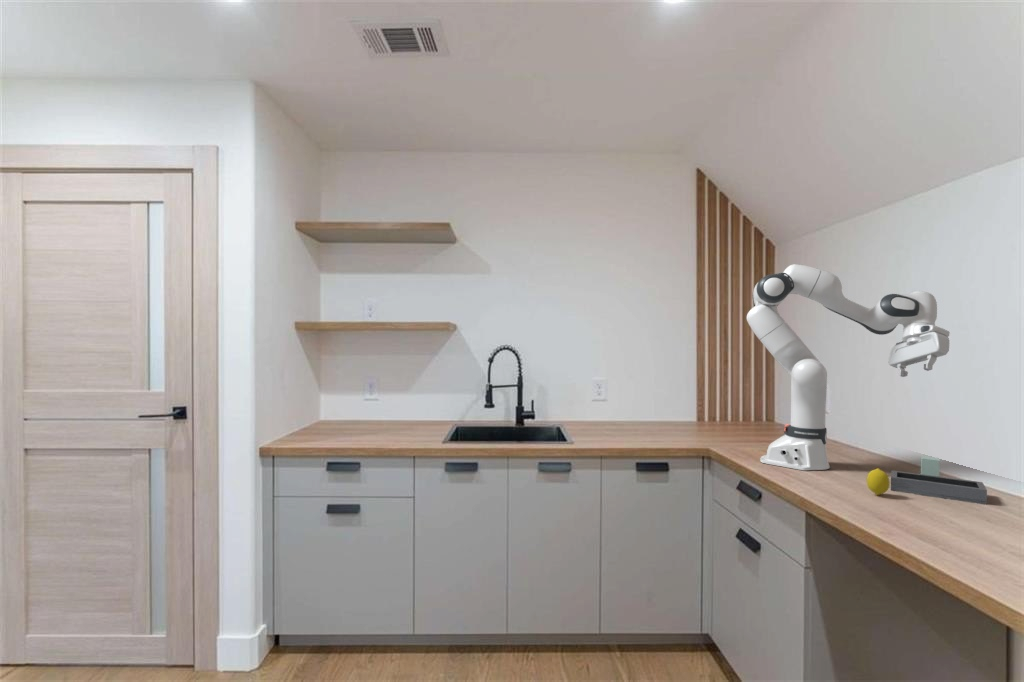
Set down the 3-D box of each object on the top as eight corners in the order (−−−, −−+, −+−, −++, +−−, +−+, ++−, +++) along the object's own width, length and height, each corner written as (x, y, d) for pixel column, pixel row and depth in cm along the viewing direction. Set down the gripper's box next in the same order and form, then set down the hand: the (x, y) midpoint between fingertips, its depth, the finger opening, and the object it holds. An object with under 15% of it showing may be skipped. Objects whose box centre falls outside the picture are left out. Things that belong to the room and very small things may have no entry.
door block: (921, 483, 170) (921, 458, 170) (920, 480, 174) (921, 456, 174) (939, 485, 168) (939, 460, 168) (938, 482, 171) (938, 458, 171)
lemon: (867, 491, 161) (868, 465, 161) (889, 495, 157) (890, 468, 157) (865, 495, 156) (865, 468, 156) (888, 499, 153) (888, 471, 153)
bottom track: (890, 490, 162) (890, 477, 162) (891, 482, 170) (891, 470, 170) (986, 504, 149) (987, 490, 149) (982, 495, 157) (982, 482, 157)
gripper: (885, 341, 190) (881, 376, 186) (936, 323, 171) (933, 362, 167) (901, 347, 191) (897, 382, 186) (954, 330, 171) (951, 369, 167)
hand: (915, 373), depth 176 cm, fingers open, 8 cm apart
